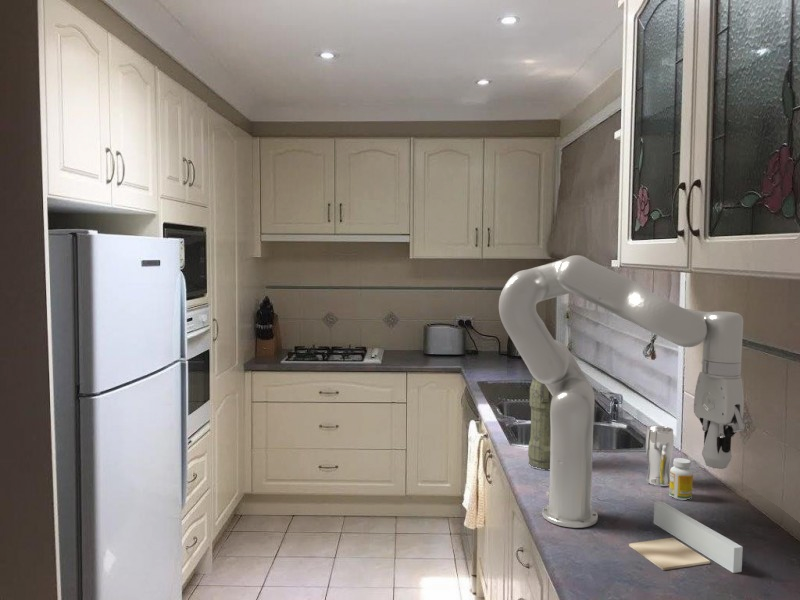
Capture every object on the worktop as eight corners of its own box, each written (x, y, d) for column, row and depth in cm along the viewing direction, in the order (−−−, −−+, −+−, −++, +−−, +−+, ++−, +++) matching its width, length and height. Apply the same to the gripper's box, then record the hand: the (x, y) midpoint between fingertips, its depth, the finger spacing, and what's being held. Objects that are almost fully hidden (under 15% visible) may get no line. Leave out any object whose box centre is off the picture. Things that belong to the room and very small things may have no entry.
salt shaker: (717, 471, 139) (720, 411, 138) (695, 463, 144) (698, 405, 143) (736, 468, 141) (740, 409, 140) (714, 460, 146) (717, 403, 145)
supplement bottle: (665, 496, 166) (666, 459, 166) (675, 491, 170) (676, 455, 169) (686, 502, 162) (687, 465, 161) (695, 497, 166) (697, 460, 165)
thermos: (531, 472, 184) (533, 349, 182) (525, 458, 196) (528, 343, 193) (562, 472, 184) (565, 349, 181) (555, 459, 195) (558, 343, 193)
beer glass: (659, 477, 180) (661, 424, 179) (678, 486, 174) (680, 430, 173) (638, 480, 178) (640, 426, 177) (656, 489, 171) (658, 433, 170)
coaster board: (629, 545, 138) (629, 543, 138) (673, 539, 141) (673, 537, 141) (663, 570, 128) (663, 567, 128) (709, 563, 131) (710, 560, 131)
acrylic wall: (653, 523, 150) (654, 502, 150) (661, 522, 150) (661, 501, 150) (733, 573, 127) (734, 548, 126) (741, 571, 127) (742, 546, 127)
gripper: (680, 363, 148) (676, 442, 149) (736, 376, 132) (731, 465, 133) (707, 361, 150) (703, 440, 151) (765, 375, 134) (760, 462, 135)
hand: (716, 451), depth 142 cm, fingers closed on salt shaker, 3 cm apart
